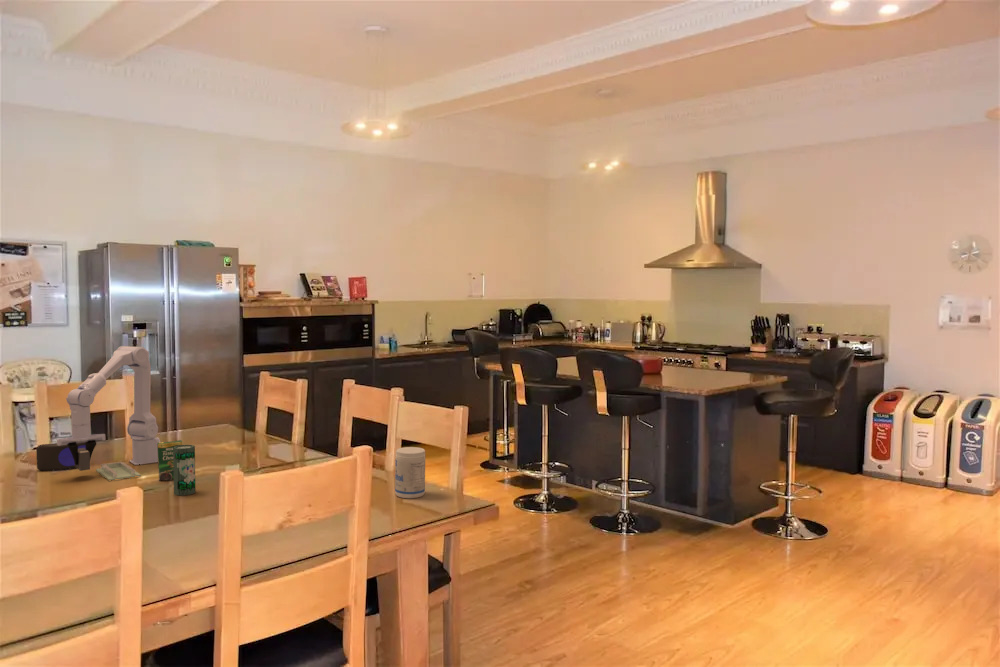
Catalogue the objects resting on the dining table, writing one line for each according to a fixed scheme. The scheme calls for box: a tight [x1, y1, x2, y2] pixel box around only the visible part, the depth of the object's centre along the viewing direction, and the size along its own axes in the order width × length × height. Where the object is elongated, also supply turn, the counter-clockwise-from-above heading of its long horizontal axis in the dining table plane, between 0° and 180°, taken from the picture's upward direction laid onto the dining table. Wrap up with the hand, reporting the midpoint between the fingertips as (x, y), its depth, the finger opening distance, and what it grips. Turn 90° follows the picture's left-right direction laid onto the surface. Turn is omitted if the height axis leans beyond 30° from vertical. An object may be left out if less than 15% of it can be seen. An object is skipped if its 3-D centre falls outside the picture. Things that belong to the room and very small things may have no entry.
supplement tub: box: [394, 446, 426, 499], centre depth 246 cm, size 10×10×15 cm
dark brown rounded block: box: [35, 442, 86, 472], centre depth 275 cm, size 16×5×9 cm, turn 123°
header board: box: [95, 461, 142, 481], centre depth 269 cm, size 10×18×2 cm, turn 40°
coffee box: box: [157, 439, 183, 482], centre depth 262 cm, size 8×3×13 cm, turn 115°
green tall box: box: [173, 444, 197, 497], centre depth 246 cm, size 6×6×15 cm
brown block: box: [75, 448, 91, 472], centre depth 262 cm, size 3×8×6 cm, turn 40°
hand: (82, 463), depth 263 cm, fingers closed on brown block, 3 cm apart
